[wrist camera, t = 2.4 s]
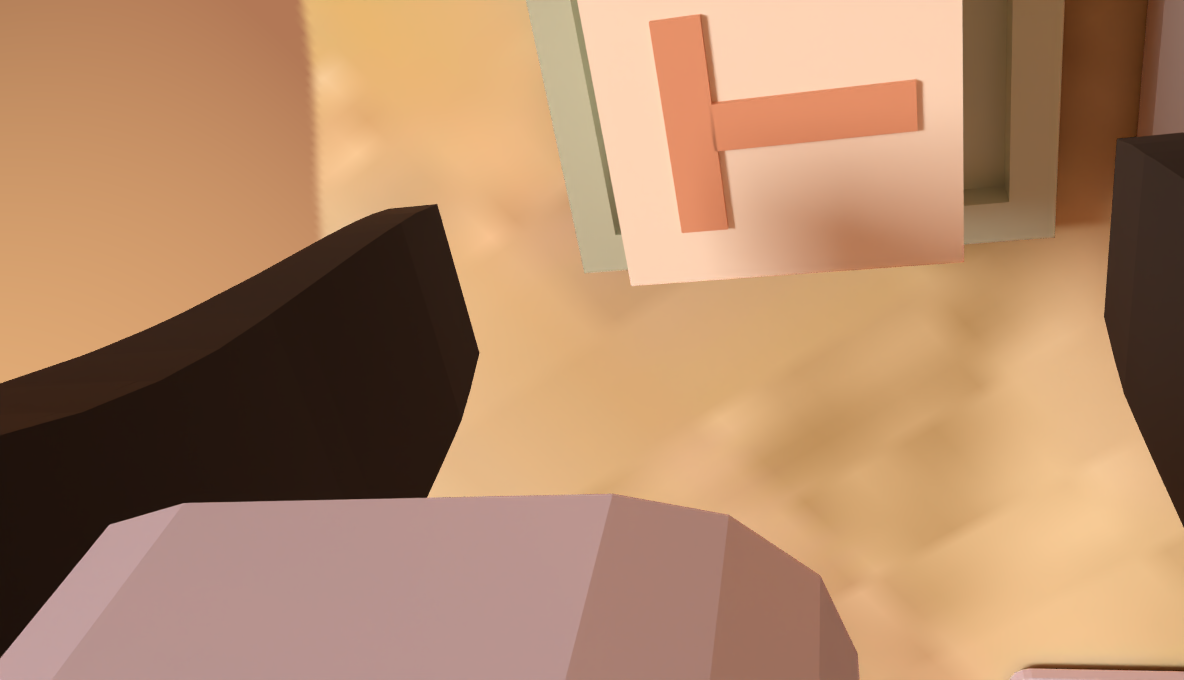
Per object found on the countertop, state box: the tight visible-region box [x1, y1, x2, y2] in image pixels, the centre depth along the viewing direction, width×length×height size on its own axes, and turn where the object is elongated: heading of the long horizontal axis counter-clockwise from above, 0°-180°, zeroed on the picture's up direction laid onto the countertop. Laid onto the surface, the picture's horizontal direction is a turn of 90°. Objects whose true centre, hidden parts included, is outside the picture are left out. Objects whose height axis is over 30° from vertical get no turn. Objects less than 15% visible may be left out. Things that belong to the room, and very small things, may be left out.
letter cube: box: [577, 0, 964, 286], centre depth 17 cm, size 5×5×5 cm
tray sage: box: [526, 0, 1065, 273], centre depth 19 cm, size 9×9×1 cm
